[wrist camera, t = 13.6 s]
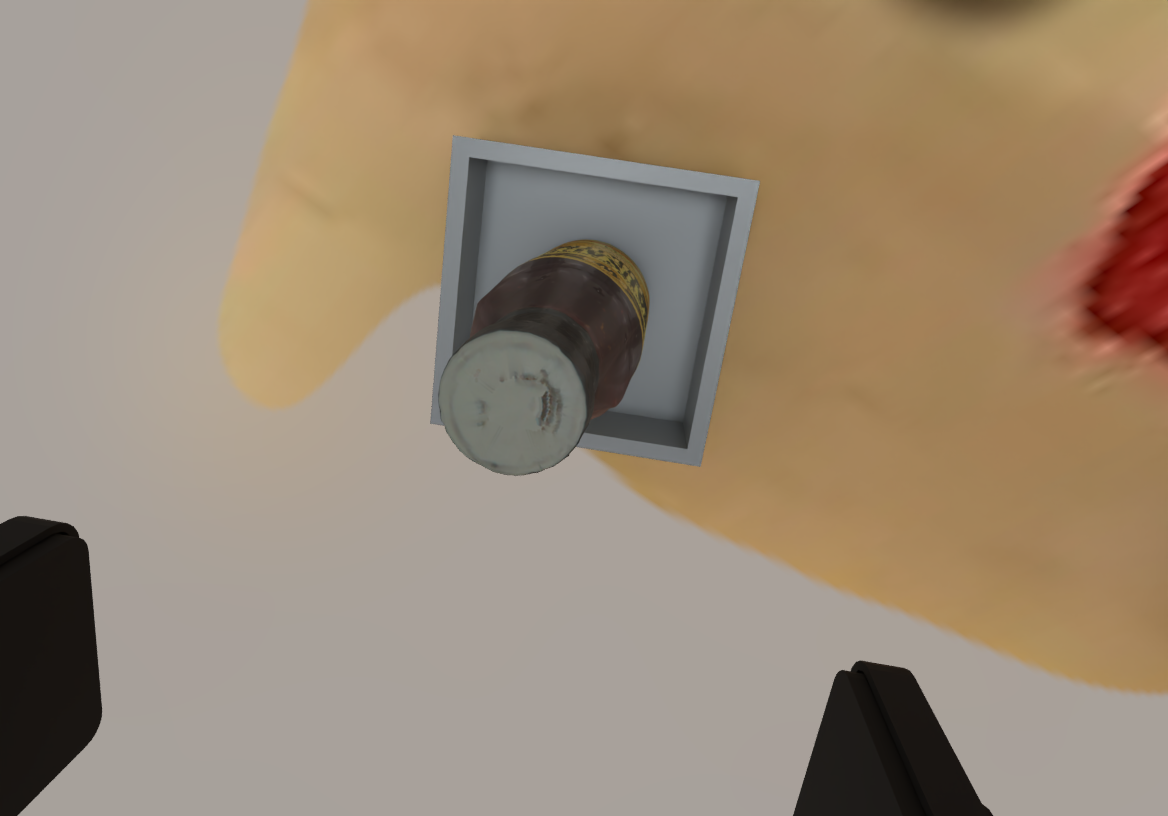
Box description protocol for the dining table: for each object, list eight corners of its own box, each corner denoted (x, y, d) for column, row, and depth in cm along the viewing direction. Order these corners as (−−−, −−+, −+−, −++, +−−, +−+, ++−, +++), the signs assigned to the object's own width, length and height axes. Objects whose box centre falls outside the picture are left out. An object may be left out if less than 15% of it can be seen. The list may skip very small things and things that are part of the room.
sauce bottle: (673, 284, 37) (705, 394, 18) (602, 378, 39) (564, 569, 20) (568, 207, 36) (489, 239, 17) (501, 307, 38) (362, 435, 19)
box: (744, 180, 36) (760, 181, 31) (693, 432, 40) (700, 466, 36) (477, 140, 36) (453, 135, 32) (454, 394, 41) (430, 423, 36)
